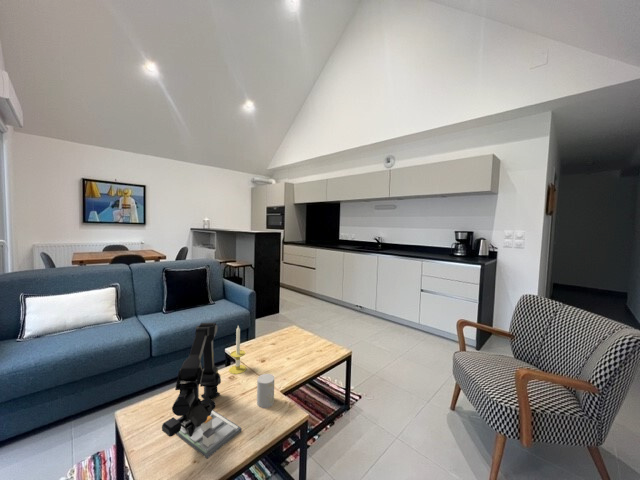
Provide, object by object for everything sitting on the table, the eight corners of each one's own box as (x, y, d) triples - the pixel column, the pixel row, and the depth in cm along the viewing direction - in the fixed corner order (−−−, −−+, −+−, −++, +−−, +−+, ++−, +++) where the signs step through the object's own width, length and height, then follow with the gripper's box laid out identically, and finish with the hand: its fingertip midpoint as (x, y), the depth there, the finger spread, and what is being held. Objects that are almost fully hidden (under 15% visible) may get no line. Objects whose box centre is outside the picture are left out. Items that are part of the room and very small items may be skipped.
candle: (239, 363, 165) (239, 320, 164) (250, 368, 159) (250, 324, 158) (225, 370, 157) (225, 325, 155) (236, 376, 151) (236, 329, 150)
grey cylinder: (270, 409, 125) (270, 384, 124) (254, 406, 127) (254, 381, 126) (276, 398, 133) (276, 375, 132) (261, 395, 135) (261, 372, 134)
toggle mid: (200, 428, 109) (201, 418, 108) (207, 424, 111) (207, 414, 111) (205, 431, 107) (205, 421, 107) (212, 427, 110) (212, 417, 109)
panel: (175, 433, 109) (175, 428, 109) (209, 411, 123) (209, 406, 122) (207, 458, 98) (207, 452, 98) (241, 431, 111) (241, 425, 111)
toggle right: (202, 443, 101) (202, 432, 101) (209, 438, 104) (209, 427, 104) (207, 446, 100) (207, 436, 100) (214, 441, 102) (214, 431, 102)
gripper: (178, 420, 90) (178, 464, 91) (224, 392, 106) (224, 429, 107) (161, 407, 96) (161, 449, 97) (207, 382, 112) (207, 418, 113)
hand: (190, 436), depth 103 cm, fingers closed
